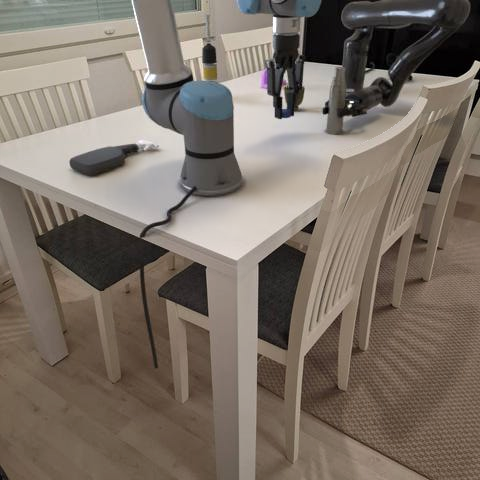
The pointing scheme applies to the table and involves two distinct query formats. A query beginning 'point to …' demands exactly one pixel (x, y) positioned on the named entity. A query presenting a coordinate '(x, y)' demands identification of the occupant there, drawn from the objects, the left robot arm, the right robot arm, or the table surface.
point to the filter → (209, 57)
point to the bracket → (264, 79)
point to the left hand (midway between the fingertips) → (284, 116)
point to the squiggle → (392, 61)
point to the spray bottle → (106, 157)
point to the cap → (286, 113)
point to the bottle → (336, 101)
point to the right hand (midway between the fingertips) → (331, 112)
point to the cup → (298, 96)
